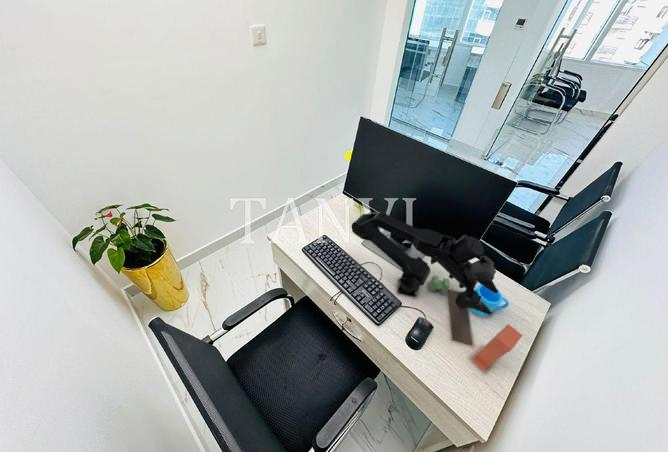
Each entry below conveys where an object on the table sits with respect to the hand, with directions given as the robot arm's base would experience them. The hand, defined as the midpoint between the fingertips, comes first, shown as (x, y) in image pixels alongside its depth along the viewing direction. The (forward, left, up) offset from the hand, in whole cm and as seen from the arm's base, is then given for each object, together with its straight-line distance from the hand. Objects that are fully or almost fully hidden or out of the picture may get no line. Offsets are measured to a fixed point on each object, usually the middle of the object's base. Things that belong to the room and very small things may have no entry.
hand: (494, 302), depth 77 cm
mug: (+5, +9, -15) cm, 18 cm away
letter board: (-4, +3, -15) cm, 16 cm away
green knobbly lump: (-11, +12, -15) cm, 23 cm away
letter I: (+2, -11, -15) cm, 18 cm away
